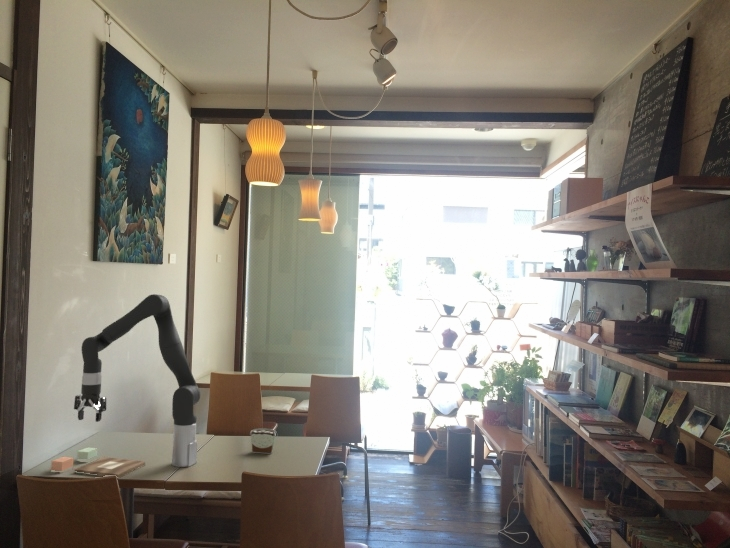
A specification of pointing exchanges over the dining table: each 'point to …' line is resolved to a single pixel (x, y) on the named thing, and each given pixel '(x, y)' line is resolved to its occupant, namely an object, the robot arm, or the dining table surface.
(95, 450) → the sage green brick
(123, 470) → the base board
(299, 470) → the dining table surface
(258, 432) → the food container
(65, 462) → the terracotta brick
